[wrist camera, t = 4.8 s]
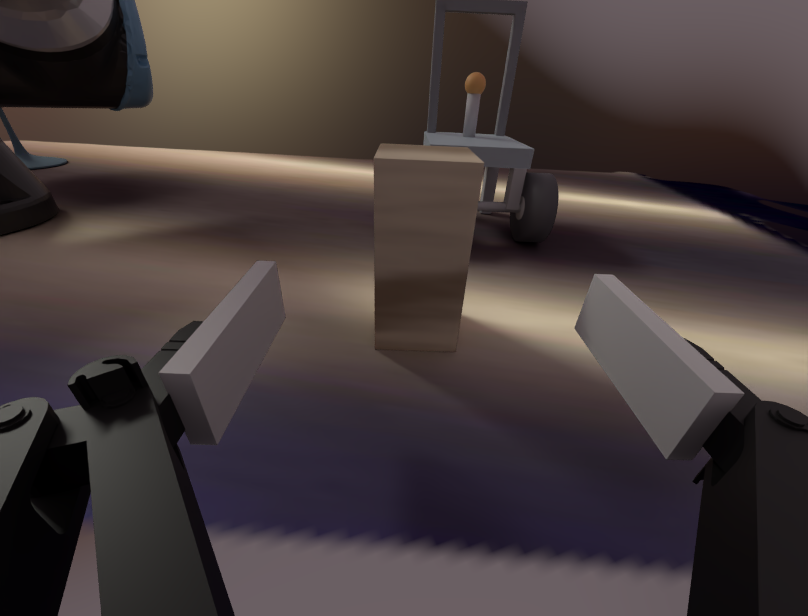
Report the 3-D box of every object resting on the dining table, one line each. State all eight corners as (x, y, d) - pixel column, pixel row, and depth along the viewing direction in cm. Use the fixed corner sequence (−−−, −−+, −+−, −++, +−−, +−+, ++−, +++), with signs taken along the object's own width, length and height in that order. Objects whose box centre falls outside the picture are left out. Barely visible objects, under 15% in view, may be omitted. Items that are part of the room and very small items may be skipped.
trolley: (547, 252, 36) (628, -40, 24) (398, 246, 35) (408, -51, 24) (510, 209, 48) (551, 5, 37) (400, 205, 48) (407, -2, 37)
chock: (455, 352, 22) (484, 162, 16) (374, 349, 21) (374, 158, 16) (447, 309, 26) (467, 147, 20) (380, 306, 26) (380, 143, 20)
